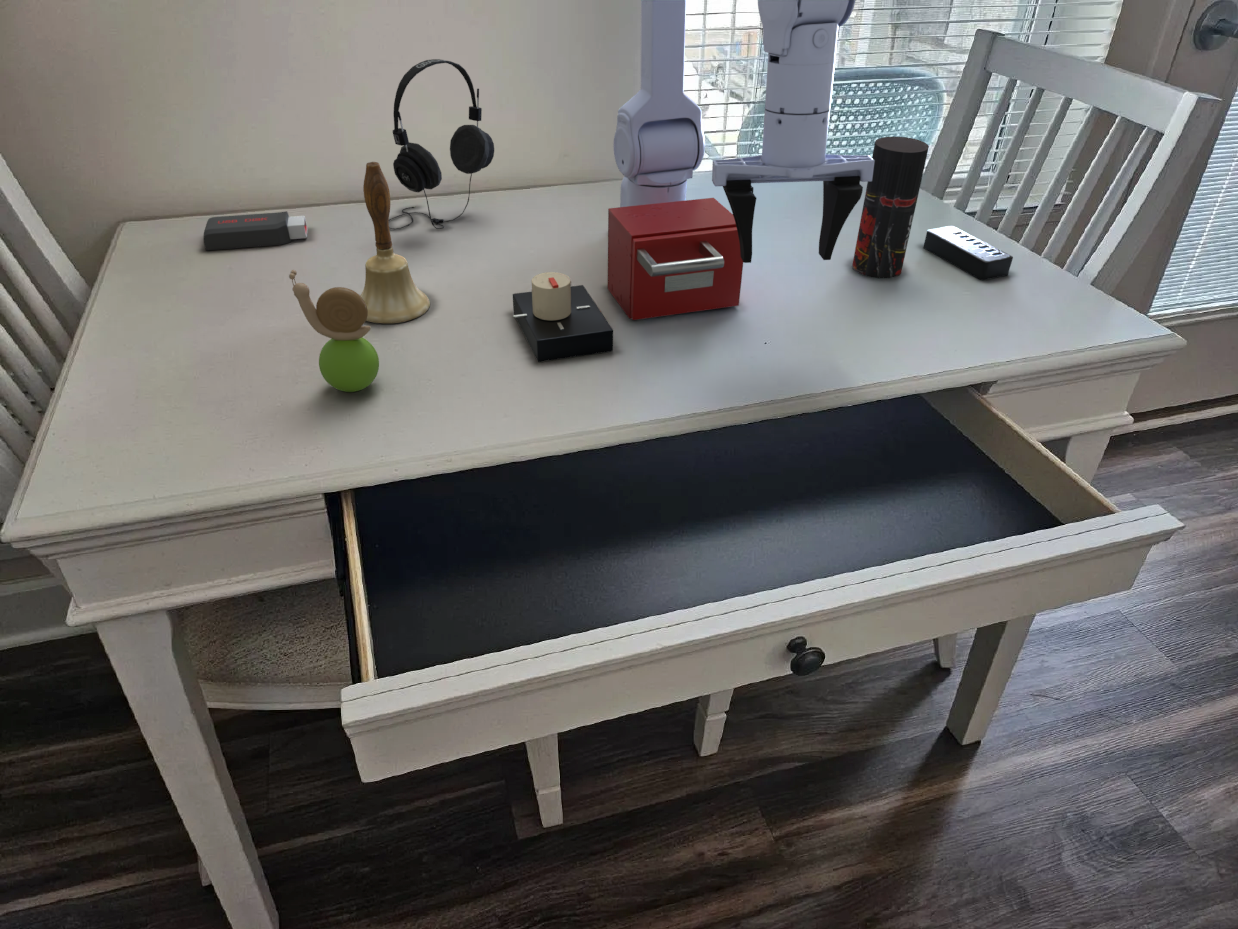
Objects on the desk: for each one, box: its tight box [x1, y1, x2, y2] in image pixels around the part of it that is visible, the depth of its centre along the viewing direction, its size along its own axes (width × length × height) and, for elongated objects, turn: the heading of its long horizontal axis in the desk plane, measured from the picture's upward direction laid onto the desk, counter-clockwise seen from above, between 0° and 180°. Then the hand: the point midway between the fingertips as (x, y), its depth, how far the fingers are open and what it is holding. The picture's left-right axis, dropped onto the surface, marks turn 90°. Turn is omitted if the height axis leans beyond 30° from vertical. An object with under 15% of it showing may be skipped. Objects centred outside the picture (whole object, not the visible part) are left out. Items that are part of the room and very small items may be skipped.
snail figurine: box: [288, 269, 380, 393], centre depth 82 cm, size 5×6×12 cm
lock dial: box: [531, 271, 572, 321], centre depth 92 cm, size 4×4×4 cm
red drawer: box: [631, 227, 744, 321], centre depth 94 cm, size 6×13×9 cm, turn 108°
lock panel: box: [512, 284, 614, 363], centre depth 94 cm, size 11×9×3 cm
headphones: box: [389, 58, 495, 230], centre depth 114 cm, size 15×11×20 cm
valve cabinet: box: [607, 197, 736, 320], centre depth 99 cm, size 8×13×10 cm, turn 108°
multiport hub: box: [922, 225, 1014, 281], centre depth 111 cm, size 4×11×2 cm, turn 24°
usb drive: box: [203, 210, 308, 251], centre depth 113 cm, size 5×12×3 cm, turn 104°
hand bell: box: [359, 161, 431, 325], centre depth 94 cm, size 8×8×16 cm
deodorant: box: [852, 135, 930, 280], centre depth 105 cm, size 6×6×15 cm
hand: (785, 258), depth 86 cm, fingers open, 7 cm apart
